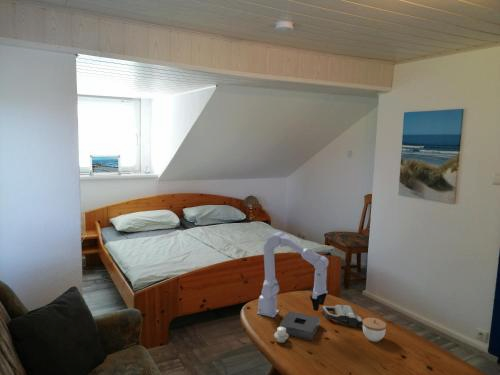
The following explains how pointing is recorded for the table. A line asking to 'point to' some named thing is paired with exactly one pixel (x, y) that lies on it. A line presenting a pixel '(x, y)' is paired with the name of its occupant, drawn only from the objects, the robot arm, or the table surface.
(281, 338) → the flanged cylindrical plug
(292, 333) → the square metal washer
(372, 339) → the lidded jar
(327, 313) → the portable electronic device
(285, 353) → the table surface
